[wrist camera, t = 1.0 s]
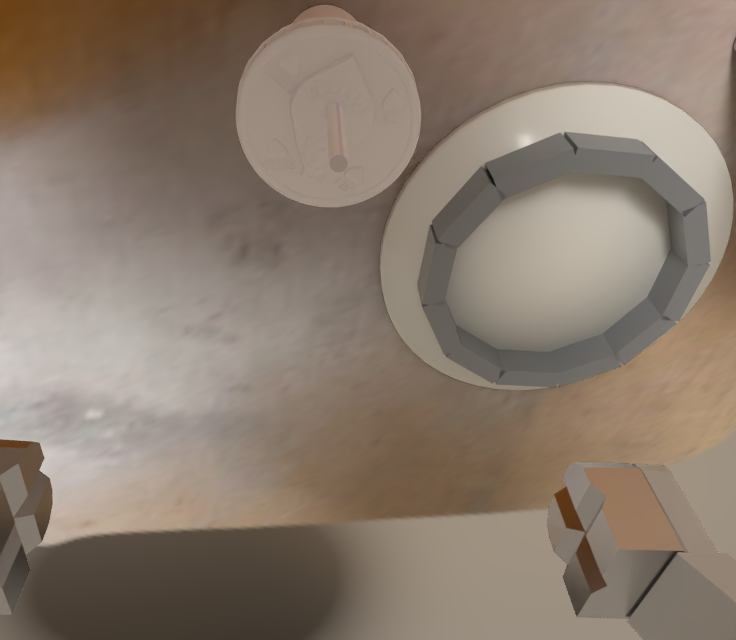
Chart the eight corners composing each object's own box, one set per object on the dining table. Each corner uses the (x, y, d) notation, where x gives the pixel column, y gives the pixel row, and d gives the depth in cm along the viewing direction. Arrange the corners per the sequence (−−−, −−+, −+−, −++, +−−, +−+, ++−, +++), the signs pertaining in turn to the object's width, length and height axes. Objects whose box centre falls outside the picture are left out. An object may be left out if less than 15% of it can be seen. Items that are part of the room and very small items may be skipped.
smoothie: (416, 2, 28) (483, 112, 17) (366, 134, 31) (394, 297, 20) (276, -55, 26) (247, 25, 15) (240, 92, 29) (196, 244, 18)
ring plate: (411, 59, 29) (419, 78, 27) (794, 103, 32) (832, 125, 29) (360, 372, 41) (362, 405, 39) (640, 386, 44) (659, 417, 41)
